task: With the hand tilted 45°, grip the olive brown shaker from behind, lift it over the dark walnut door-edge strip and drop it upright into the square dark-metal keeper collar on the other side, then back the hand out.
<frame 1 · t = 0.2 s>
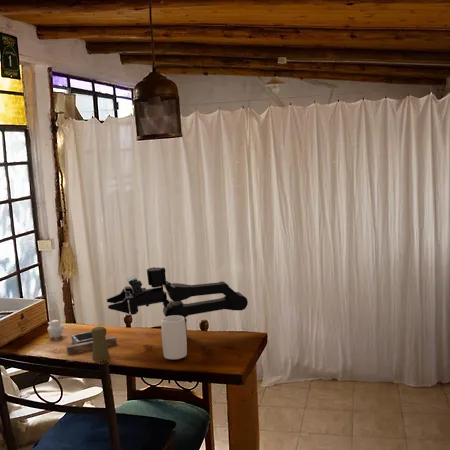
hand: (107, 303, 203), 17 cm above the table, tool horizontal, fingers open, 9 cm apart
olive brown shaker: (101, 358, 195), on the table
keeper collar: (87, 342, 211), on the table
white vase: (56, 337, 220), on the table
door edge strip: (92, 348, 205), on the table
cup: (175, 359, 191), on the table
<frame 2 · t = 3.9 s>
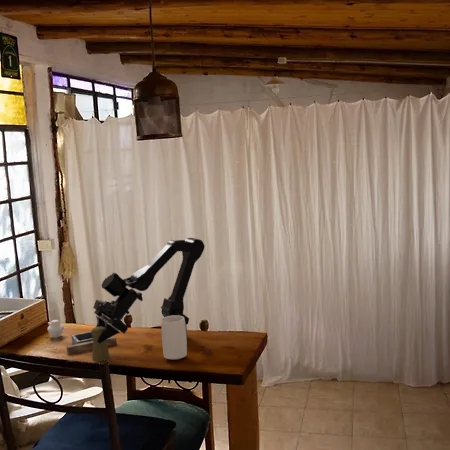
hand: (95, 340, 193), 7 cm above the table, tool tilted 45°, fingers closed on olive brown shaker, 5 cm apart
olive brown shaker: (101, 358, 195), on the table, touching gripper
everything else where it was.
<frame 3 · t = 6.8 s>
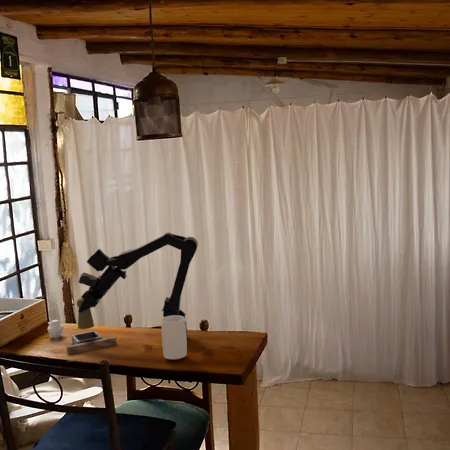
hand: (80, 309, 210), 13 cm above the table, tool tilted 45°, fingers closed on olive brown shaker, 5 cm apart
olive brown shaker: (86, 327, 210), point 6 cm above the table, touching gripper
everything else where it was.
when the fingers open (10 cm above the table, at t = 7.8 s): olive brown shaker drops 3 cm, resting on keeper collar.
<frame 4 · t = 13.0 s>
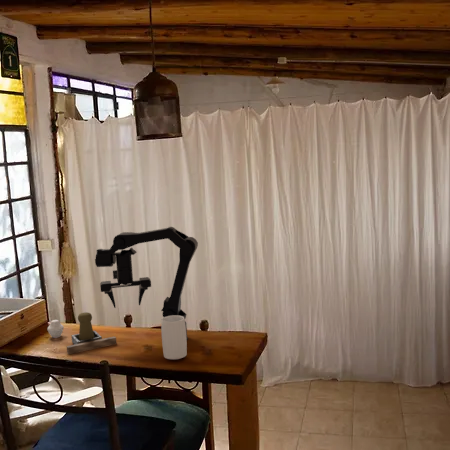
hand: (127, 306, 211), 13 cm above the table, tool pointing down, fingers open, 9 cm apart
olive brown shaker: (87, 341, 211), resting on keeper collar
everything else where it was.
at the end: olive brown shaker 0.0 cm off-centre on the keeper collar, point 0.4 cm above the keeper collar's base; olive brown shaker tilted 0°; the gripper is holding nothing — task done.
